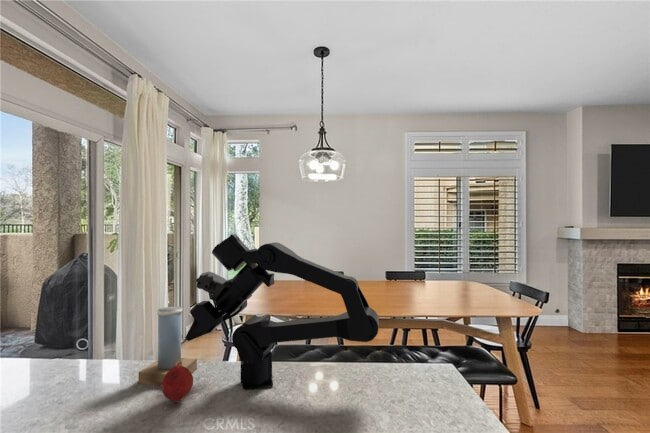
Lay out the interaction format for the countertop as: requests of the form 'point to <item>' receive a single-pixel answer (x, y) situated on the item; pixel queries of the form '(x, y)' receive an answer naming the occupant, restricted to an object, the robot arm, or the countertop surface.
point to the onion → (177, 382)
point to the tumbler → (169, 336)
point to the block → (162, 372)
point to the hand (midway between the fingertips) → (197, 332)
